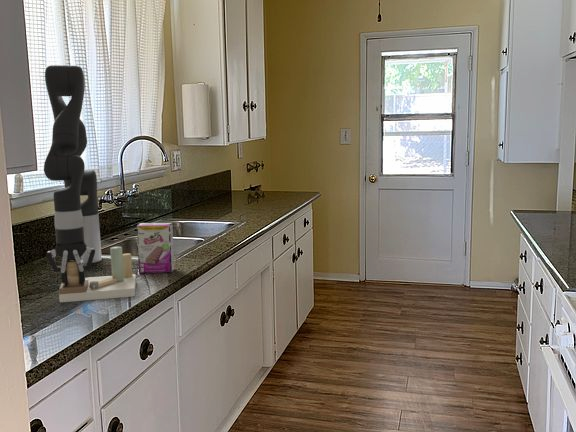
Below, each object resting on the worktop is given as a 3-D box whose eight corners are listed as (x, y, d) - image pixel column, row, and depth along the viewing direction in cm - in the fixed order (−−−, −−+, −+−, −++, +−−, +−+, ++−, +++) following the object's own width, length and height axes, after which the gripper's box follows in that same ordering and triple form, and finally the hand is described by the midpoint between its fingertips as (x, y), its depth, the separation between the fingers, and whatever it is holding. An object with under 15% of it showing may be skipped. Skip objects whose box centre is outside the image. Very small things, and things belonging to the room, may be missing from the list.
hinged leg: (95, 289, 167) (92, 255, 165) (87, 287, 168) (84, 254, 167) (126, 279, 177) (124, 247, 175) (118, 277, 178) (116, 246, 177)
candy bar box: (138, 274, 192) (135, 225, 190) (141, 270, 197) (139, 222, 195) (172, 273, 193) (170, 224, 190) (174, 269, 198) (172, 222, 195)
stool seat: (67, 286, 179) (64, 256, 178) (135, 281, 184) (134, 252, 182) (59, 302, 164) (56, 270, 162) (134, 296, 169) (132, 265, 167)
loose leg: (68, 286, 169) (66, 260, 168) (81, 285, 170) (79, 259, 168) (66, 290, 166) (64, 263, 164) (80, 289, 166) (78, 262, 165)
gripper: (96, 222, 170) (100, 278, 173) (44, 224, 166) (49, 282, 169) (94, 226, 163) (98, 285, 166) (40, 229, 159) (45, 289, 162)
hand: (73, 283), depth 167 cm, fingers closed on loose leg, 3 cm apart
